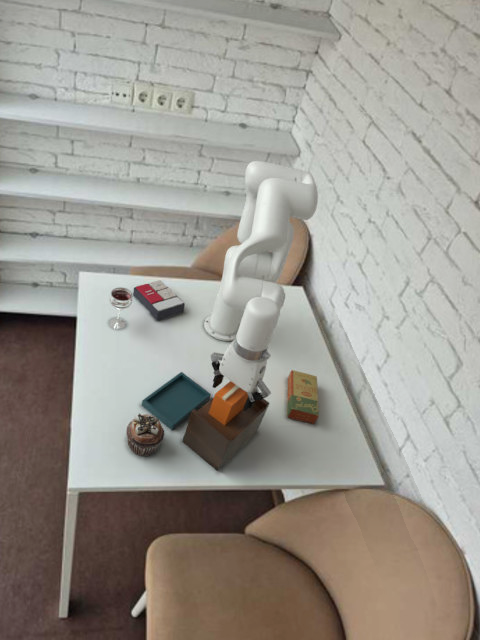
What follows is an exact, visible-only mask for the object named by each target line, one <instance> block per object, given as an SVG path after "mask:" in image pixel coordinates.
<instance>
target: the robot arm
mask: <svg viewBox="0 0 480 640" xmlns="http://www.w3.org/2000/svg"><path fill="white" fill-rule="evenodd" d="M244 184H245V189H246V190H245V191H246V198H245V203H244V205H243V206H244V207H243V210H242V214H241V216H240V221H239V224H238V229H237V233H236V235H237V240H238V242H239V243H240V244H239V245H232V246H230V247H229V248H228V249H227V250H226V252H225V256H224V263H223V271H222V277H221V280H220V285H219V288H218V291H217V294H216V297H215V302H214V304H213V309H212V310H211V311H212V312H211V314H210V315H208V316H206V317H205V319H204V323H203V327H204V330H205V332H206V333H208V335H209V336H211V337H212V338H214V339H216V340H218V341H222V342H230V341H231V343H230V344H229V346H228V347H227V349H226V350H225V352H224V353H221V352H212V353H211V354H210V360H211V366H212V369H213V375H214V376H213V380H212V382H213V383H212V388H213V389H217V387H219V386H220V385H221V384H222V383H223V380H224V377H225V378H226V379H227V380H228V381H229V382H230V381H231V382H233V383H234V384H236V385H237V386H238V387H240V388H241V389H243V390H244V391H246V392H247V393H248V396H249V398H248V399H247V400H246V403H245V405H244V408H243V409H244V411H246V410H247V409H248V408H250V409H251V408H252V407H253V406H254V404H255V401H256V400H262V399H266V398H268V397H269V396H270V395H271V394H272V391H271V390H270V389H269V387H268V386H267V385H266V383H265V382H264V377H265V374H266V368H267V364H268V360H269V359H270V358H271V356H272V355H271V354H270V353H269V351H268V350H269V344H270V342H271V339H272V337H273V334H274V332H275V329H276V327H277V324H278V322H279V319H280V316H281V310H282V308H283V307H284V303H285V299H286V292H285V288H284V286H282V285H281V284H279V283H277V282H278V280H279V279H280V278H281V275H282V273H283V271H284V267H285V265H286V262H287V259H288V257H289V253H290V250H291V248H292V244H293V242H294V236H295V229H294V225H293V223H291V222H290V219H291V218H293V219H296V220H297V219H298V220H303V221H308V220H310V219H311V218H313V216H314V215H315V213H316V211H317V208H318V203H319V201H318V199H319V194H318V193H319V192H318V188H317V184H316V181H315V179H314V176H313V175H312V173H310V172H309V171H306V170H302V169H299V168H294V167H290V166H285V165H283V164H282V165H281V164H278V163H273V162H268V161H262V160H253V161H251V162H249V163H248V164H247V167H246V168H245V172H244ZM220 361H221V362H220ZM252 391H254V393H253V392H252Z"/></svg>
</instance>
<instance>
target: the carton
mask: <svg viewBox="0 0 480 640" xmlns="http://www.w3.org/2000/svg"><path fill="white" fill-rule="evenodd" d="M286 394H287V396H286V398H287V400H286V401H287V402H286V418H288V419H292V420H296V421H300V422H304V423H307V424H313V425H315V423H316V422H317V420H318V419H319V416H320V413H319V396H318V395H319V394H318V377H317V375H313V374H310V373H305V372H301V371H298V370H293V369H291V370H290V372H289V375H288V376H287V393H286Z"/></svg>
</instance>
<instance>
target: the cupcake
mask: <svg viewBox="0 0 480 640" xmlns="http://www.w3.org/2000/svg"><path fill="white" fill-rule="evenodd" d="M127 424H128V425H127V426H126V432H125V433H126V438H127V444H128V447H129V449H130V451H131V452H132V454H134V455H137V456H139V457H149V456H150V457H151V456H152V455H153V454H155V453H156V451H157V450H158V449H159V447H160V445H161V444H162V443H163V440H164V439H165V430H164V427H163V425H162V422H161V421H160V420H159V419H157V418H156V417H155V416H154V415H153V414H150V413H146V414H141V413H135V415H134V417H133V419H132V420H131V421H130V422H129V423H127Z"/></svg>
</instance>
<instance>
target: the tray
mask: <svg viewBox="0 0 480 640" xmlns="http://www.w3.org/2000/svg"><path fill="white" fill-rule="evenodd" d="M211 396H212V393H210V392H209V391H208V390H206V389H205V388H204V387H202V386H201V385H199V383H197V382H195V381H194V380H193V379H192V378H191V377H189V376H188V375H187V374H185V373H184V372H183V371H181V372H179V373H178V374H176V375H175V376H174V377H172V378H171V379H170V380H168V381H167V382H166V383H164V384H163V385H161V386H160V387H159V388H158V389H156V390H155V391H152V393H150V394H148V395H147V396H146V397H145V398H144V399H142V401H141V406H142V407H143V408H144V409H145V410H146V411H148V412H149V414H150V415H153V416H155V417H156V418H157V419H158V420H159V421H160V423H161V424H163V425H165V426H166V427H167V428H168V429H170V431H172V430H174V429H176V427H177V426H179V425H180V424H182V422H184V421H185V420H186V419H187V418H188V417H190V415H191V411H192V410H194V409H195V410H196V411H198V410H199V409H200V408H201V407H202V406H204V405H205V404H206V403H207V402H208V400H209V401H210V400H211Z"/></svg>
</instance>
